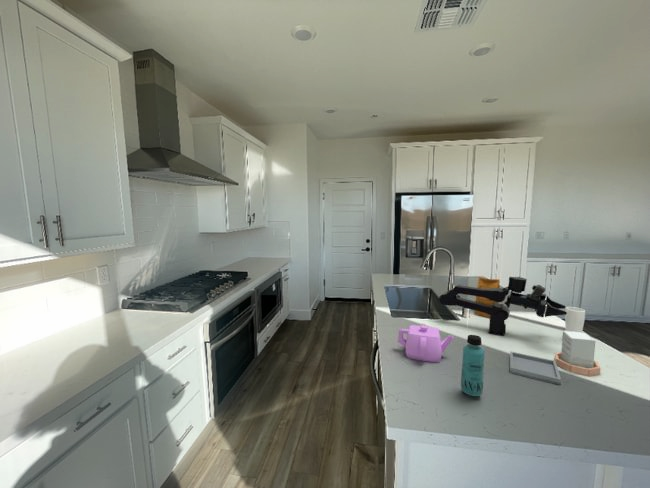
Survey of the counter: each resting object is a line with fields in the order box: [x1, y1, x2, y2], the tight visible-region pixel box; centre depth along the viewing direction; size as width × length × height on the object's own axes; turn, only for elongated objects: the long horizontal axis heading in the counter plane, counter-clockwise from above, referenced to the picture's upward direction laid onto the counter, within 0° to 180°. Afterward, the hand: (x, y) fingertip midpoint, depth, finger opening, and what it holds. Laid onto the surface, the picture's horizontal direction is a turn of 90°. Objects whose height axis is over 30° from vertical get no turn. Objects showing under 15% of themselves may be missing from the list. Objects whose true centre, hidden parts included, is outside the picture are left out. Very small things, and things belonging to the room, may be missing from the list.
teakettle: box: [397, 323, 454, 363], centre depth 120 cm, size 17×17×12 cm
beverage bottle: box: [460, 334, 486, 397], centre depth 92 cm, size 6×7×20 cm
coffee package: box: [473, 276, 501, 319], centre depth 164 cm, size 10×12×22 cm
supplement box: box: [560, 330, 596, 368], centre depth 109 cm, size 7×7×13 cm
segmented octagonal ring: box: [553, 351, 601, 377], centre depth 109 cm, size 13×13×2 cm
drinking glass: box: [564, 306, 586, 333], centre depth 130 cm, size 7×7×15 cm
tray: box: [509, 351, 562, 386], centre depth 108 cm, size 15×15×2 cm
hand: (565, 310), depth 123 cm, fingers open, 9 cm apart
